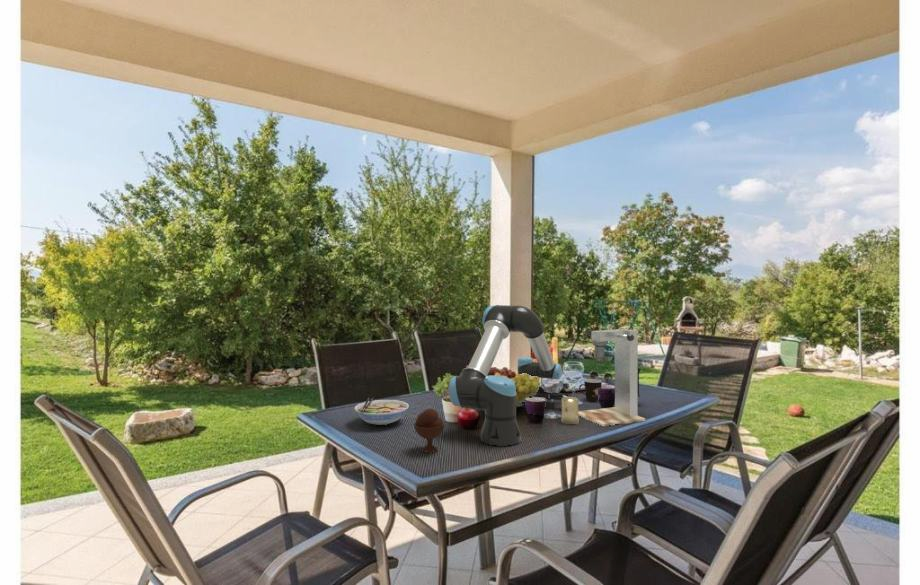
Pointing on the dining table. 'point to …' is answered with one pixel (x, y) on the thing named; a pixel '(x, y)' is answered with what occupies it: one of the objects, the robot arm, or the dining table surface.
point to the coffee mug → (591, 389)
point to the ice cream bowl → (429, 427)
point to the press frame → (622, 366)
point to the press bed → (609, 417)
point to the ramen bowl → (381, 411)
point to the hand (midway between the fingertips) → (558, 403)
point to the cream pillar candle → (570, 410)
